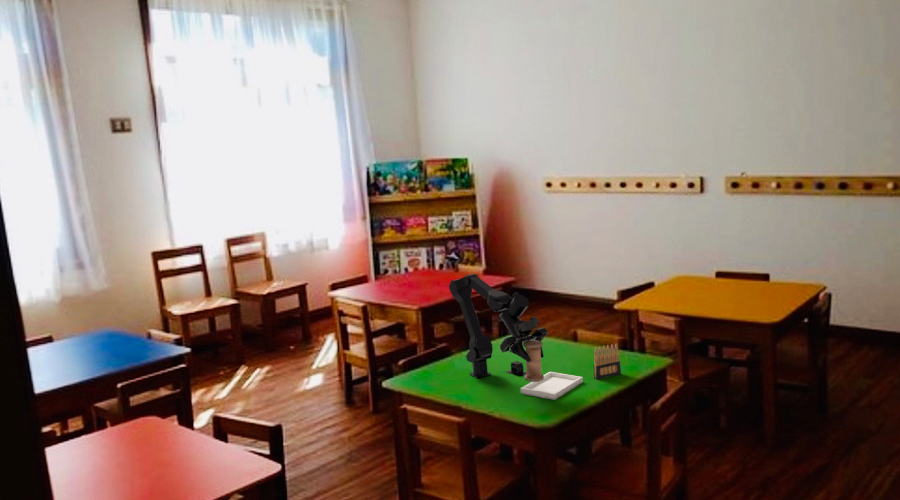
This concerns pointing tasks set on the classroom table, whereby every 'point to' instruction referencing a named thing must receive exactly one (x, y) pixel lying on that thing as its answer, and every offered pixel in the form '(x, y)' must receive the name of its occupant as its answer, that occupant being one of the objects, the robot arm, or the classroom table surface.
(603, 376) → the ammunition clip
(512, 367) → the black holed block
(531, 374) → the brown wooden spool
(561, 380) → the white rectangular tray
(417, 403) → the classroom table surface
